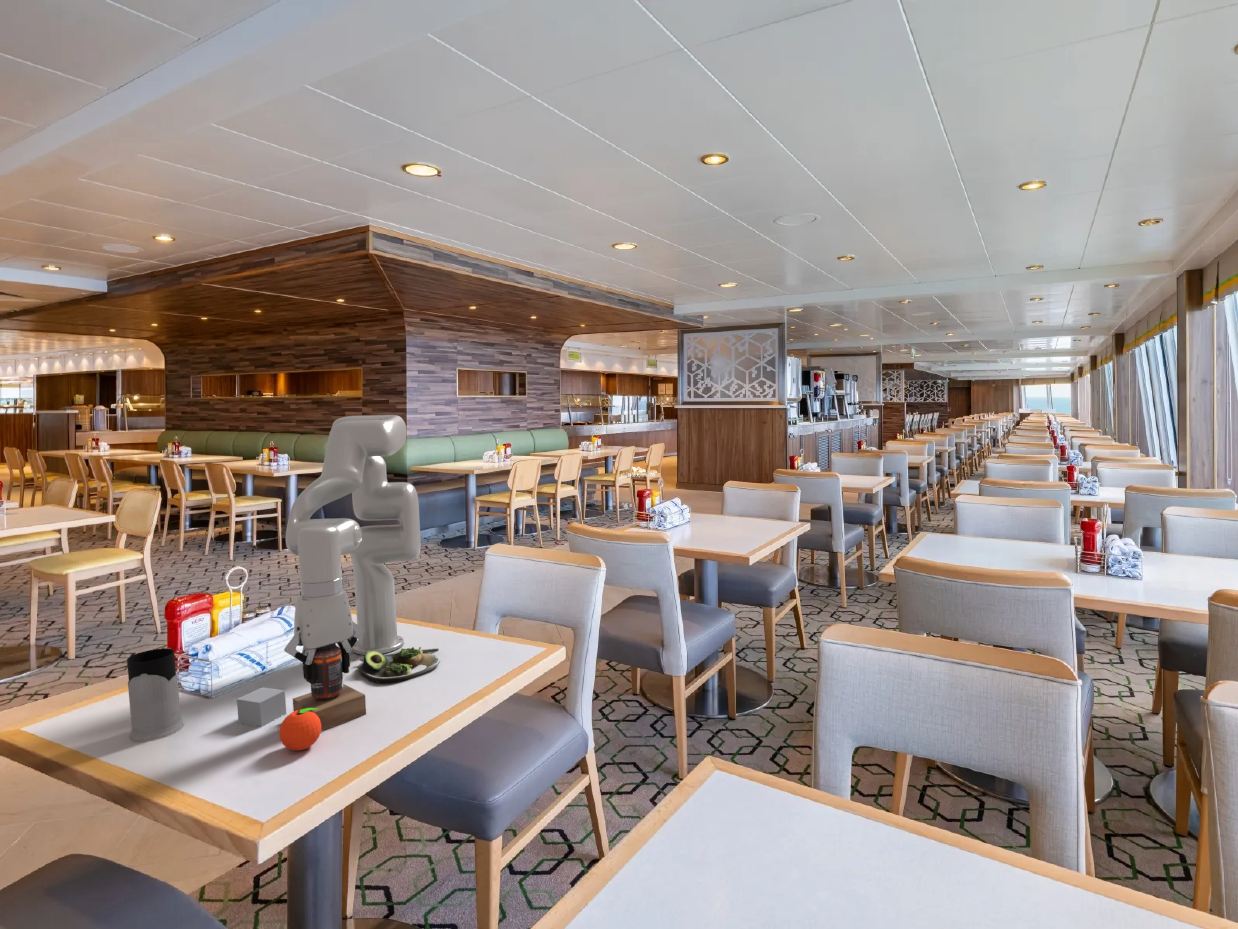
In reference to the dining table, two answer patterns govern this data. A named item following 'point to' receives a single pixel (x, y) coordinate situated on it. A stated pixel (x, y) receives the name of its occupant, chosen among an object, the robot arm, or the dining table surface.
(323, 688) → the supplement bottle
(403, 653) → the salad plate
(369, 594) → the robot arm
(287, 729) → the clementine
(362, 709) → the walnut block
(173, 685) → the glass holder
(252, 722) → the grey block
